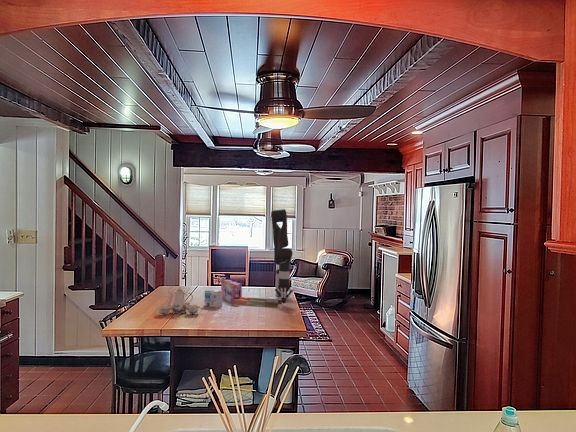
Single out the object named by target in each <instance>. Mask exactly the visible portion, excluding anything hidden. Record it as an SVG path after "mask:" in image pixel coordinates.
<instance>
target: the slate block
mask: <svg viewBox="0 0 576 432" xmlns="http://www.w3.org/2000/svg"><path fill="white" fill-rule="evenodd" d="M266 299H267V302H278V300H279V296H269V297H267V298H266Z"/></svg>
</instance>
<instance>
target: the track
mask: <svg viewBox="0 0 576 432" xmlns="http://www.w3.org/2000/svg"><path fill="white" fill-rule="evenodd" d="M250 298H251V301H250V300H247V304H246V305H245V306H247V307H248V306H249V307H260V308H261V307H263V308H274V309H275V308H276V309H277V308H279V307H281V306H282V305H283V303H282V299H278V302H267V298H262V297H250ZM233 306H234V307H241V306H242V305H241V304H235V303H234V304H233Z"/></svg>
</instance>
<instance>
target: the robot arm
mask: <svg viewBox="0 0 576 432" xmlns="http://www.w3.org/2000/svg"><path fill="white" fill-rule="evenodd" d="M270 217H271V219H270V220H271V225H272V226H271V227H272V239H273V248H274V249H273V259H274V263H275V265H279V266H278V267H279V268H277V269H276V270H275V289H274V291H275V297H278V298H279V297H280V298H281V300H282V304H286V302H287V298H288V297H290V296H291V294H292V293H293V291H294V289H292V288H291V286H290V285H291V284H290V283H291V282H290V281H291V274H290V273H291V272H290V271H291V270H290V268H291V267H290V265H291V261H292V257H293V250H292V249H291V248H286V247H288V246H289V238H288V214H287V210H286V209H285V208H279V209H272V210H271V212H270ZM278 223H282V226H281V227H280V226H279V224H278Z"/></svg>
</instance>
